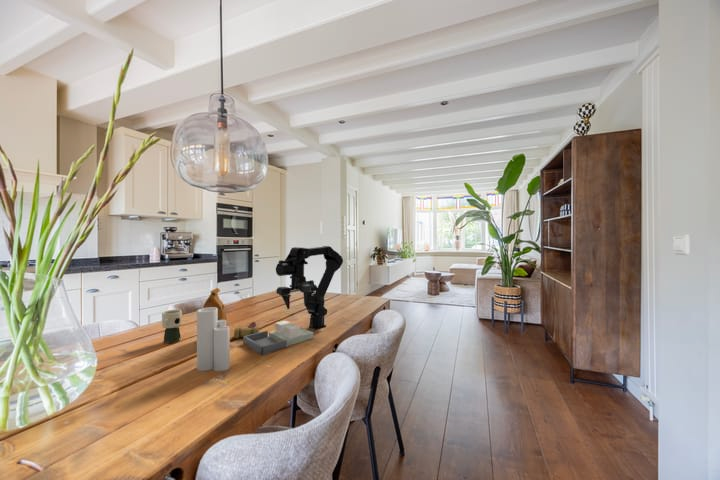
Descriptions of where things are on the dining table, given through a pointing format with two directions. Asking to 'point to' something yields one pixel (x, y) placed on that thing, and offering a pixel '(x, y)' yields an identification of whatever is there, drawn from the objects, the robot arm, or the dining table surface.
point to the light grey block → (292, 331)
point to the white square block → (281, 326)
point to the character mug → (171, 325)
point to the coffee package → (216, 304)
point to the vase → (212, 341)
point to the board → (303, 336)
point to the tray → (263, 343)
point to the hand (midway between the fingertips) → (297, 307)
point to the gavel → (246, 330)
